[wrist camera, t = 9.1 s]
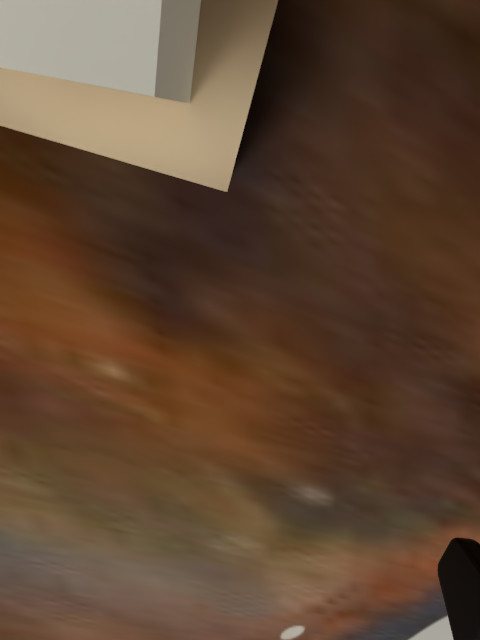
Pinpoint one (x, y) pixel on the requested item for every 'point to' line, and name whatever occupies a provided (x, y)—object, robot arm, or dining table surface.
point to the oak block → (158, 103)
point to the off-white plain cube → (104, 43)
